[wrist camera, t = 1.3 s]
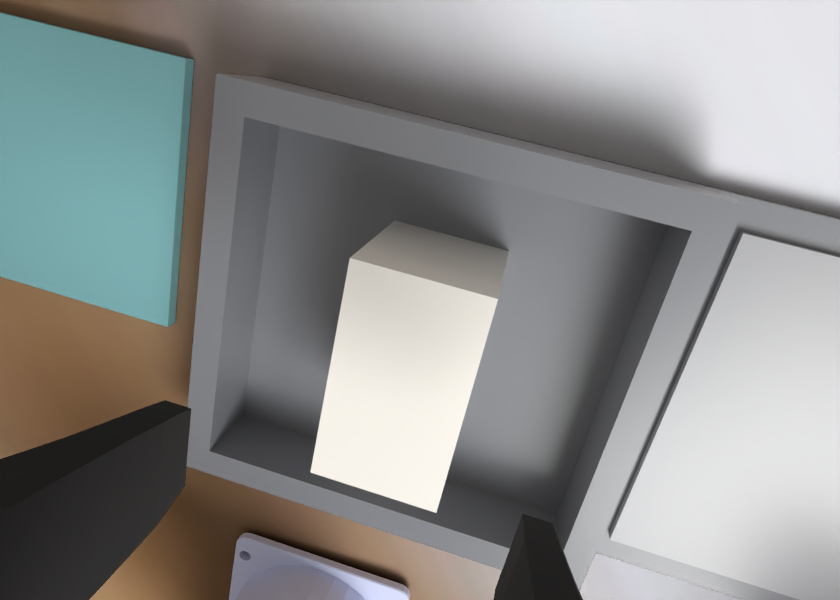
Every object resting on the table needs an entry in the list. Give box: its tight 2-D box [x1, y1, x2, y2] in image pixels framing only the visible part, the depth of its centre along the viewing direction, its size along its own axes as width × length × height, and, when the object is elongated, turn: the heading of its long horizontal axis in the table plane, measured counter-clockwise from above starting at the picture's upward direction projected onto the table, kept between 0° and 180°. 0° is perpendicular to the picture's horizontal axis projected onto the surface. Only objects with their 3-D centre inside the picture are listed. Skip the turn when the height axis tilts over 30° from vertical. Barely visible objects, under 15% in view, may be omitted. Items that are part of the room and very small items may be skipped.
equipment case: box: [186, 73, 840, 600], centre depth 19 cm, size 14×30×3 cm, turn 78°
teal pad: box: [0, 12, 194, 327], centre depth 22 cm, size 10×10×1 cm
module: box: [310, 221, 509, 513], centre depth 19 cm, size 7×4×5 cm, turn 168°
